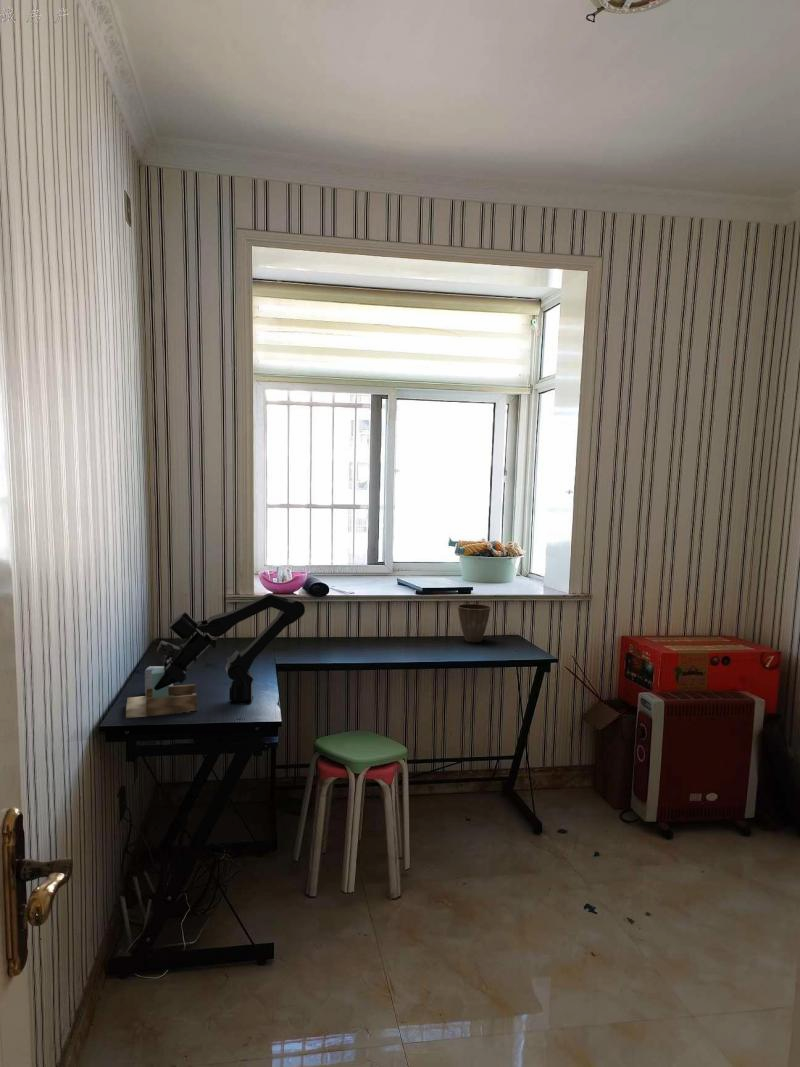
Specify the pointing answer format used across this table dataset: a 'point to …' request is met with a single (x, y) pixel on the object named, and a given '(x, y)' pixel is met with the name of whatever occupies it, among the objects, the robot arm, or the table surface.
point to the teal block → (155, 678)
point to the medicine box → (150, 676)
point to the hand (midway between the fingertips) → (154, 687)
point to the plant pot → (473, 621)
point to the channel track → (163, 702)
